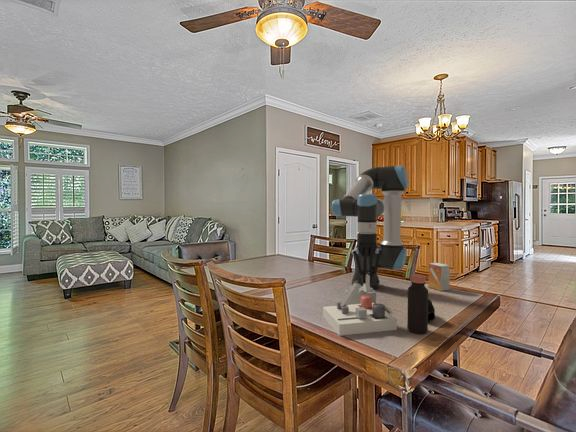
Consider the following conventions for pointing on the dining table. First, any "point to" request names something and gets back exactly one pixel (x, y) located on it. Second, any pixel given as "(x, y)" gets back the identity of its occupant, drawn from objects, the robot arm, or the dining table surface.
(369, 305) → the button red
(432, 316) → the fried shrimp in bowl
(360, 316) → the slider knob
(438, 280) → the small box
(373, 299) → the lumpy-topped squat cylinder
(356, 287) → the lever
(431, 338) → the dining table surface
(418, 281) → the bottle
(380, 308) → the button black
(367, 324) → the panel
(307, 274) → the dining table surface
